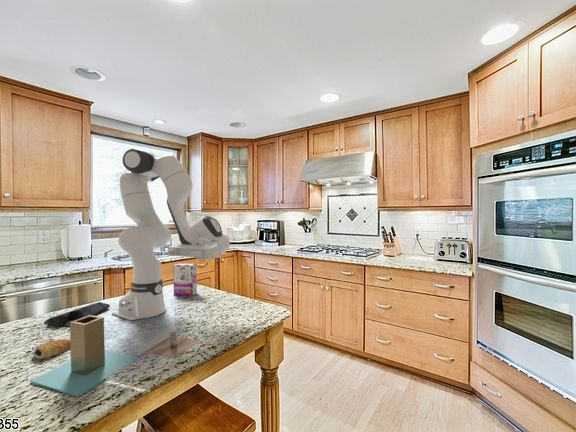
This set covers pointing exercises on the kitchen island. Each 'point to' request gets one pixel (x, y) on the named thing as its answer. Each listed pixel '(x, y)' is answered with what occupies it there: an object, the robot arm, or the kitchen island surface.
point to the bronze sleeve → (87, 344)
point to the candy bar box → (185, 279)
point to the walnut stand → (172, 346)
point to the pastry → (51, 349)
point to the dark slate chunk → (76, 314)
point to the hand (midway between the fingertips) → (179, 254)
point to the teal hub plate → (79, 383)
